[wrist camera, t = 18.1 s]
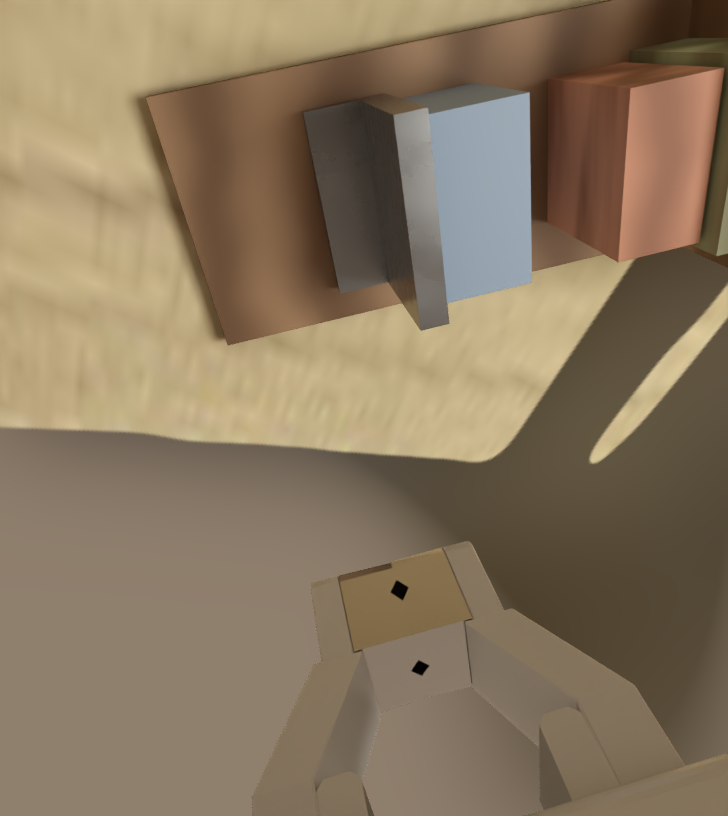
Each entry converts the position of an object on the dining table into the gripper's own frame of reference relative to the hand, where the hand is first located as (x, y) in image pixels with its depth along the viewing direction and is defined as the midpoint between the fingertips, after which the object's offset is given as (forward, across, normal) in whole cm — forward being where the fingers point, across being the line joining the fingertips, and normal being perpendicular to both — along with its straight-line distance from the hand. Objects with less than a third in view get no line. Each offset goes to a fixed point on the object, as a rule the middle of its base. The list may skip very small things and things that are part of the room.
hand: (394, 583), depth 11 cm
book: (+27, -9, 0) cm, 29 cm away
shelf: (+28, -10, 0) cm, 30 cm away
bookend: (+27, -5, 0) cm, 28 cm away
